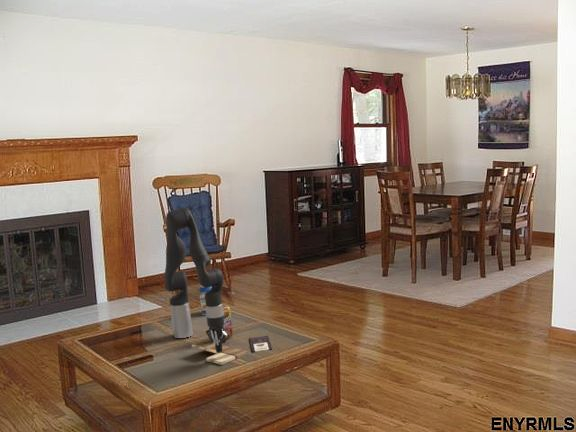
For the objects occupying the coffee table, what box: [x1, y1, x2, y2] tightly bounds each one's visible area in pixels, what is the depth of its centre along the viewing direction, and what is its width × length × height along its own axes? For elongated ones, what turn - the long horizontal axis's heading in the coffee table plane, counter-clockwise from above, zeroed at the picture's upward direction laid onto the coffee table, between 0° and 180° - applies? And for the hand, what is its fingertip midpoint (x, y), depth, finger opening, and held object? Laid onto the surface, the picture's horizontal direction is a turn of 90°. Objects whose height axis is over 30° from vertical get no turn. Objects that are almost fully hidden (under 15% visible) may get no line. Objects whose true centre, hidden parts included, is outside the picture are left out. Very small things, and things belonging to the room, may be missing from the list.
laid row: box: [204, 343, 248, 360], centre depth 269 cm, size 22×6×1 cm, turn 49°
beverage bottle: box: [198, 284, 212, 316], centre depth 330 cm, size 8×8×20 cm
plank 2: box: [205, 353, 236, 366], centre depth 260 cm, size 10×8×1 cm
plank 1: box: [191, 344, 217, 354], centre depth 267 cm, size 10×8×1 cm
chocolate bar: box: [249, 335, 273, 353], centre depth 275 cm, size 9×1×18 cm
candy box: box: [223, 305, 234, 340], centre depth 286 cm, size 9×4×15 cm, turn 123°
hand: (219, 352), depth 259 cm, fingers closed
